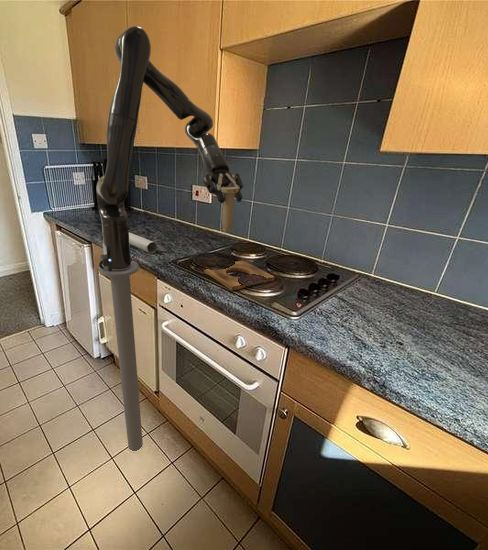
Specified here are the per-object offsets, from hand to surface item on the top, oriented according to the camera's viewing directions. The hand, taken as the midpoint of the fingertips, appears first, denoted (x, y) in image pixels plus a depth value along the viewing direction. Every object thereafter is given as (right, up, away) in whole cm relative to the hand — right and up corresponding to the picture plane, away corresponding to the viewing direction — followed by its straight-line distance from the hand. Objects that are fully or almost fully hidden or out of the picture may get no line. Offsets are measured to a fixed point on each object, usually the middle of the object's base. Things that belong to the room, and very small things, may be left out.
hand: (231, 201), depth 101 cm
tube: (-39, -12, +38) cm, 56 cm away
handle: (-1, -10, +6) cm, 11 cm away
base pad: (+3, -25, +8) cm, 27 cm away
